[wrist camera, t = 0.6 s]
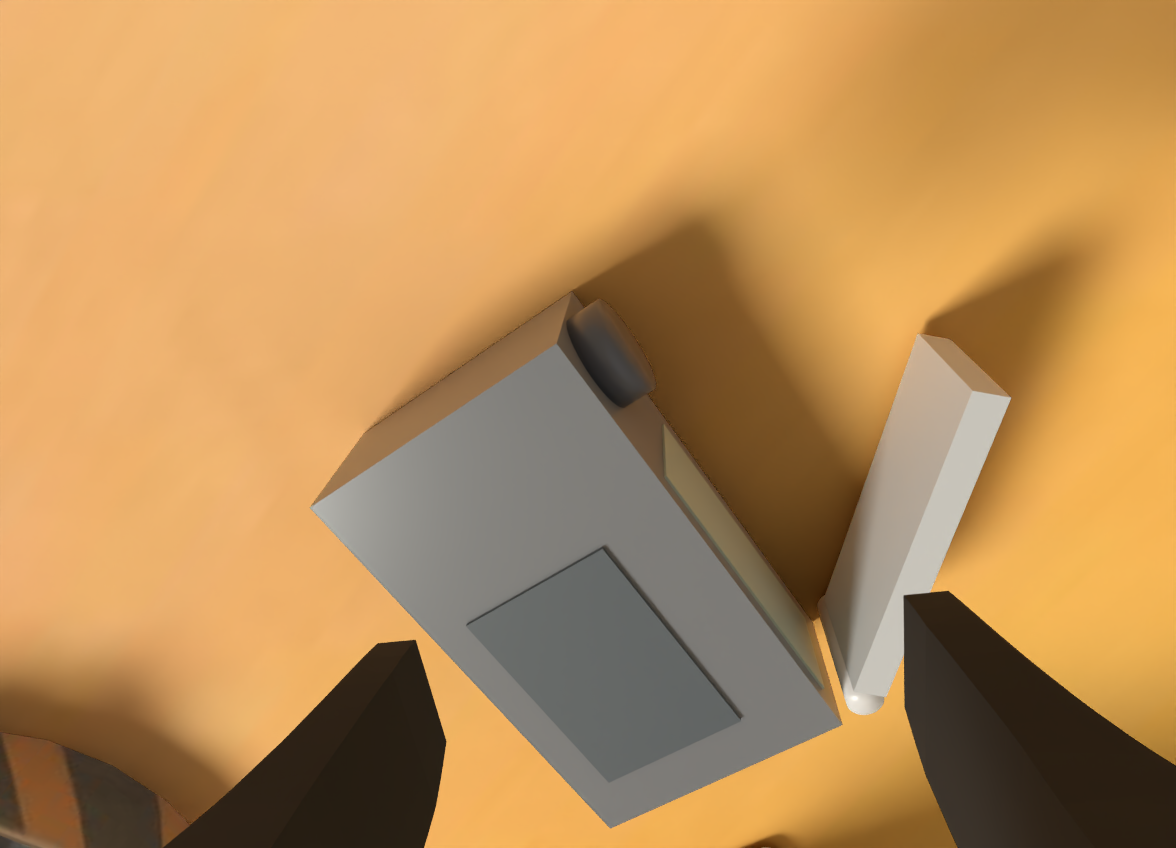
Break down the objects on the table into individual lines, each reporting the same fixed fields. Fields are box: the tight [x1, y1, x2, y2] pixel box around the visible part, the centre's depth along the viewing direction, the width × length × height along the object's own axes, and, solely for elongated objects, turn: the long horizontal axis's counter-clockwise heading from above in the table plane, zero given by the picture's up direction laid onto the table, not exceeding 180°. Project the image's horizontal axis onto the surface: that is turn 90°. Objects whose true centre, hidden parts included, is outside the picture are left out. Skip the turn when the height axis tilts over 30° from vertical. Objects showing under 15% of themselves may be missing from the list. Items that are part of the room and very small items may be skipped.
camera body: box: [310, 291, 842, 828], centre depth 21 cm, size 12×8×4 cm, turn 35°
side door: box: [817, 333, 1011, 715], centre depth 20 cm, size 9×1×4 cm, turn 171°
